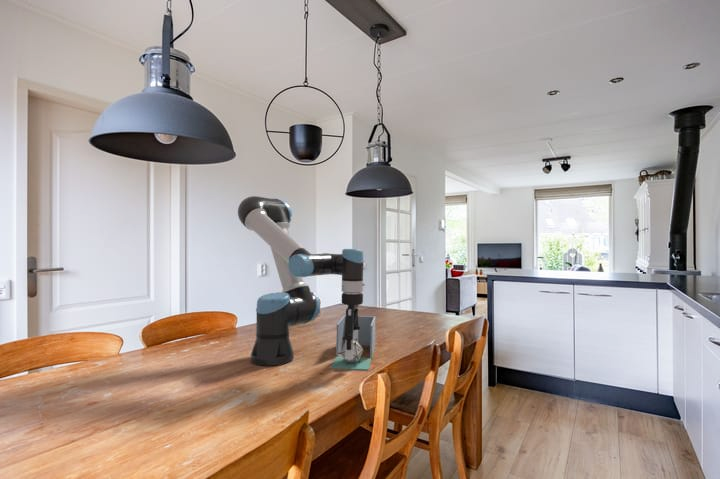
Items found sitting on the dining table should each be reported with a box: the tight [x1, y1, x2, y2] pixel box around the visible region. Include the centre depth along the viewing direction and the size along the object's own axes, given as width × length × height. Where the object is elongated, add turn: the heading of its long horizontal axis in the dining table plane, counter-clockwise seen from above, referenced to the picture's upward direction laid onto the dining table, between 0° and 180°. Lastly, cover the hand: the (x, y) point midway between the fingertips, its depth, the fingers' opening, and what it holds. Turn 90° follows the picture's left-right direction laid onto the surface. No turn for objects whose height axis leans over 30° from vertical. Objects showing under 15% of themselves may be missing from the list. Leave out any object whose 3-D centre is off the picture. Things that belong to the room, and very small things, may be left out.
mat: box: [329, 356, 372, 371], centre depth 130 cm, size 13×12×1 cm
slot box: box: [335, 314, 376, 359], centre depth 147 cm, size 13×18×12 cm
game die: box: [338, 339, 366, 364], centre depth 130 cm, size 9×8×10 cm
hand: (351, 353), depth 130 cm, fingers open, 13 cm apart
